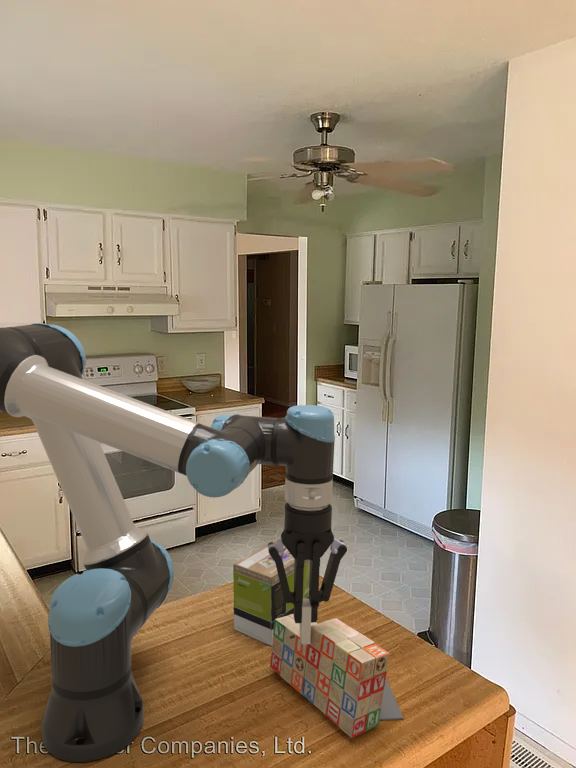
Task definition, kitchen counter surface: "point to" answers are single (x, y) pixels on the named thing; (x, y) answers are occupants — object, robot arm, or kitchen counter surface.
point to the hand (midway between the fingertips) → (304, 639)
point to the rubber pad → (389, 705)
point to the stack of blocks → (333, 671)
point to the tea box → (263, 593)
